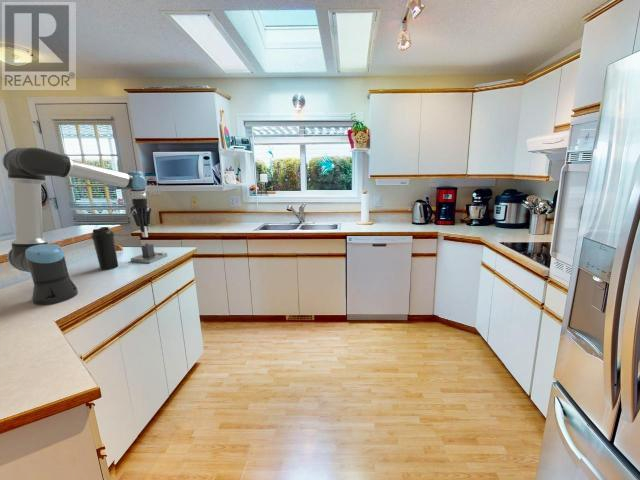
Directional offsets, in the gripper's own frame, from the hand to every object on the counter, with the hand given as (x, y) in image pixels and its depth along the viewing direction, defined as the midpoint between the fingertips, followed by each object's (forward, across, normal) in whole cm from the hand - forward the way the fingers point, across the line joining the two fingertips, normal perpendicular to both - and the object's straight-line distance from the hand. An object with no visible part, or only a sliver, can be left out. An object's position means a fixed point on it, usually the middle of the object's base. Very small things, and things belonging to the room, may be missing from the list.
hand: (145, 236), depth 182 cm
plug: (+14, -1, -1) cm, 14 cm away
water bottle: (+14, -19, +9) cm, 25 cm away
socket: (+14, 0, -1) cm, 14 cm away
